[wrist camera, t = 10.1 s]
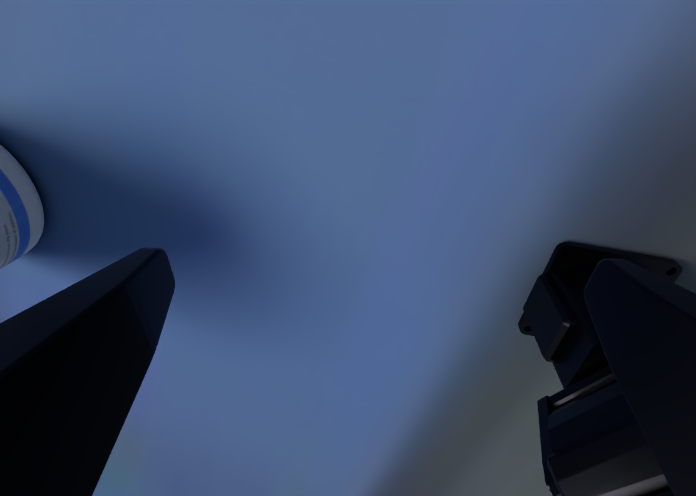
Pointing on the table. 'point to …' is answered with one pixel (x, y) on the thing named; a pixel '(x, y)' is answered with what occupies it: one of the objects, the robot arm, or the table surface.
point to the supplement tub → (17, 210)
